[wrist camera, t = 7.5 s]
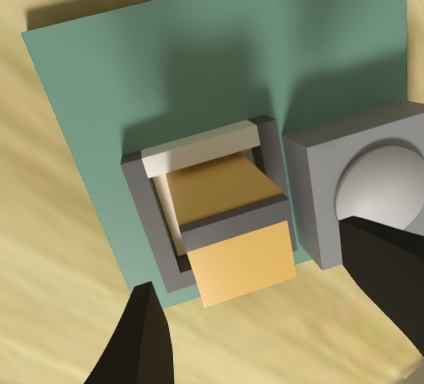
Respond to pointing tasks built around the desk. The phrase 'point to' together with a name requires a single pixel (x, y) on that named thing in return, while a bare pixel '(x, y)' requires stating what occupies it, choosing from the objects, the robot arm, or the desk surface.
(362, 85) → the board
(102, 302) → the desk surface
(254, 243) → the plug
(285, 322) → the desk surface
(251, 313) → the desk surface
